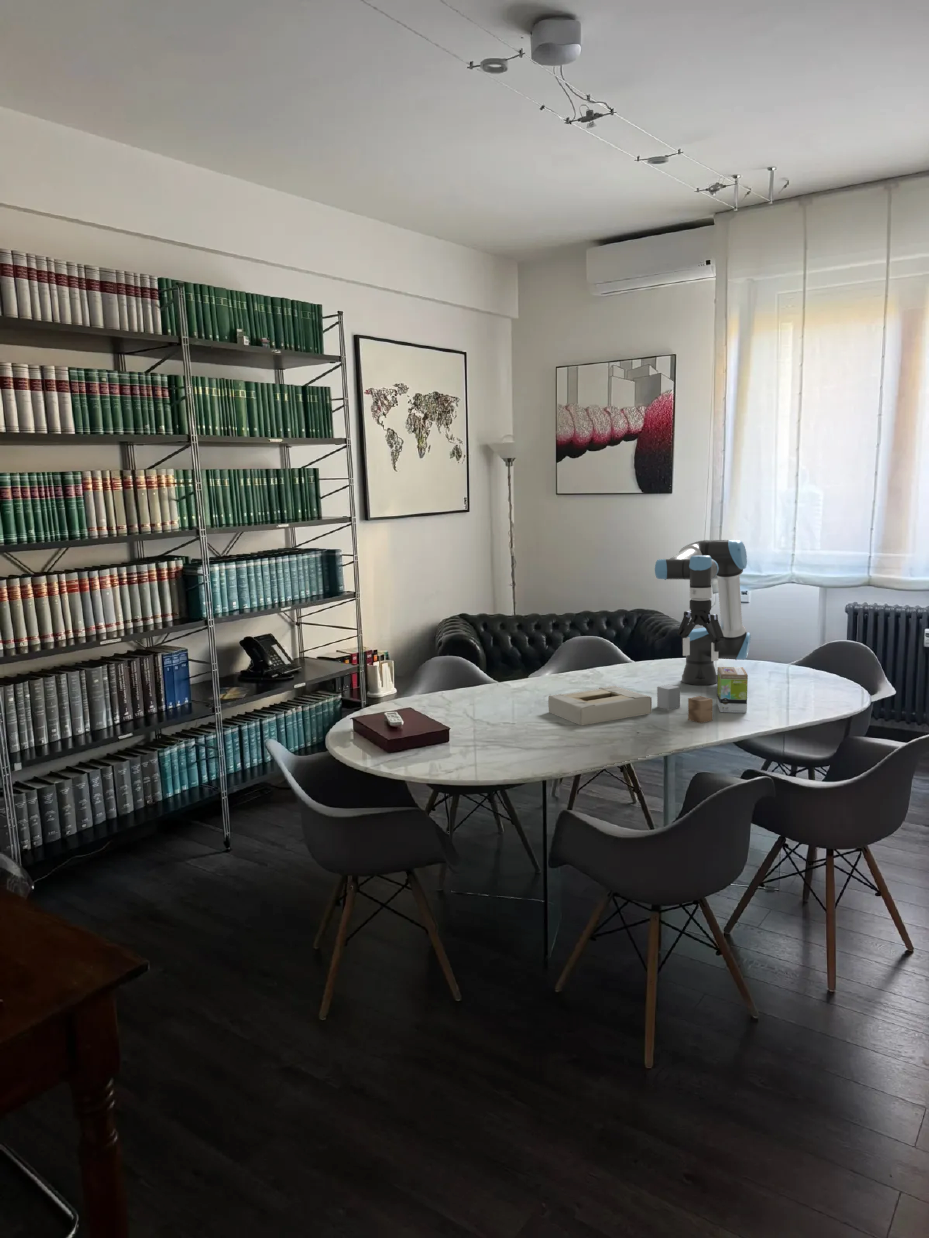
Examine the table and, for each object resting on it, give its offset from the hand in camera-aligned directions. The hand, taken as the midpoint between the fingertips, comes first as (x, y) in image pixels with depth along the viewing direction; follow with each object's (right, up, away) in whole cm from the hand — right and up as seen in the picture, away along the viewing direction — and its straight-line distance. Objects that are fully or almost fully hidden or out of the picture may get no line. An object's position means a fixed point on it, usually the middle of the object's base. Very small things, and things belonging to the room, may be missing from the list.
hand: (700, 658), depth 307 cm
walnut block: (+1, -23, +3) cm, 23 cm away
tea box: (+17, -20, +19) cm, 32 cm away
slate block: (-6, -20, +24) cm, 32 cm away
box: (-33, -22, +19) cm, 44 cm away
